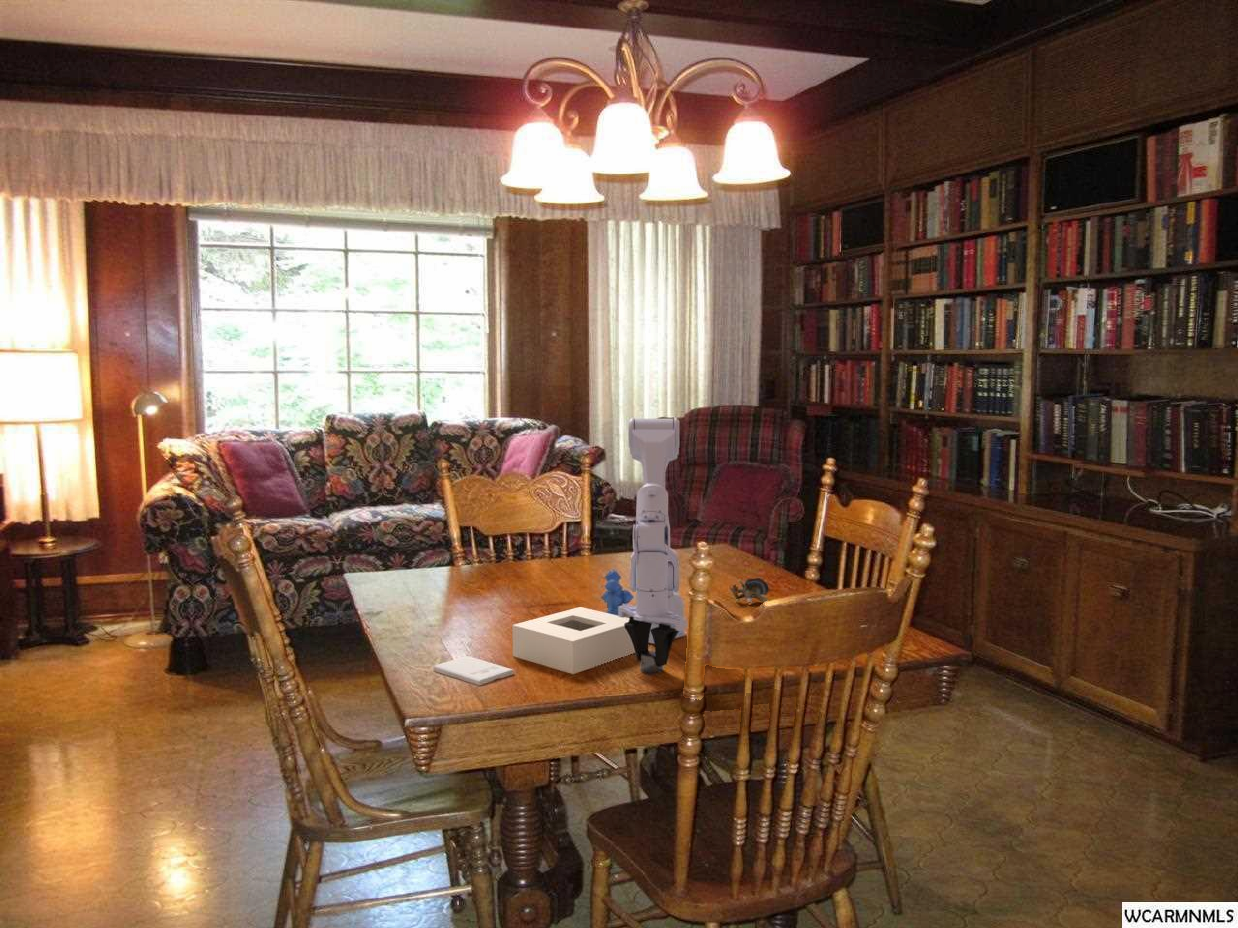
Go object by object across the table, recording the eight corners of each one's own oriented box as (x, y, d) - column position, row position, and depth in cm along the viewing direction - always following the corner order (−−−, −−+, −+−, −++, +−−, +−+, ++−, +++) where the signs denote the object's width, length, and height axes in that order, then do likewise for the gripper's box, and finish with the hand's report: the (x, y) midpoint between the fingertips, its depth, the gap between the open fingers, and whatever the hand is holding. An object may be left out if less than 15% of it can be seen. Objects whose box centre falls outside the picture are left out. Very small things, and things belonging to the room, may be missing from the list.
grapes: (634, 632, 202) (634, 574, 200) (601, 632, 202) (600, 574, 200) (633, 617, 213) (632, 562, 212) (601, 617, 213) (601, 562, 212)
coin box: (580, 635, 200) (580, 606, 199) (640, 651, 189) (640, 620, 188) (512, 656, 186) (512, 624, 186) (572, 674, 176) (572, 641, 175)
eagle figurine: (729, 603, 220) (769, 599, 218) (728, 573, 224) (767, 568, 221) (738, 614, 227) (777, 610, 224) (737, 585, 230) (775, 580, 227)
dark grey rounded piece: (650, 665, 180) (650, 649, 180) (667, 669, 178) (667, 653, 177) (636, 670, 177) (636, 654, 177) (653, 675, 175) (653, 658, 174)
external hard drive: (468, 663, 184) (514, 677, 176) (433, 674, 178) (479, 688, 170) (468, 654, 184) (514, 668, 176) (433, 665, 178) (479, 679, 170)
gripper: (606, 585, 178) (607, 659, 179) (668, 598, 168) (668, 676, 170) (632, 579, 183) (633, 650, 185) (694, 591, 173) (694, 666, 175)
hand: (651, 662), depth 177 cm, fingers closed on dark grey rounded piece, 4 cm apart
